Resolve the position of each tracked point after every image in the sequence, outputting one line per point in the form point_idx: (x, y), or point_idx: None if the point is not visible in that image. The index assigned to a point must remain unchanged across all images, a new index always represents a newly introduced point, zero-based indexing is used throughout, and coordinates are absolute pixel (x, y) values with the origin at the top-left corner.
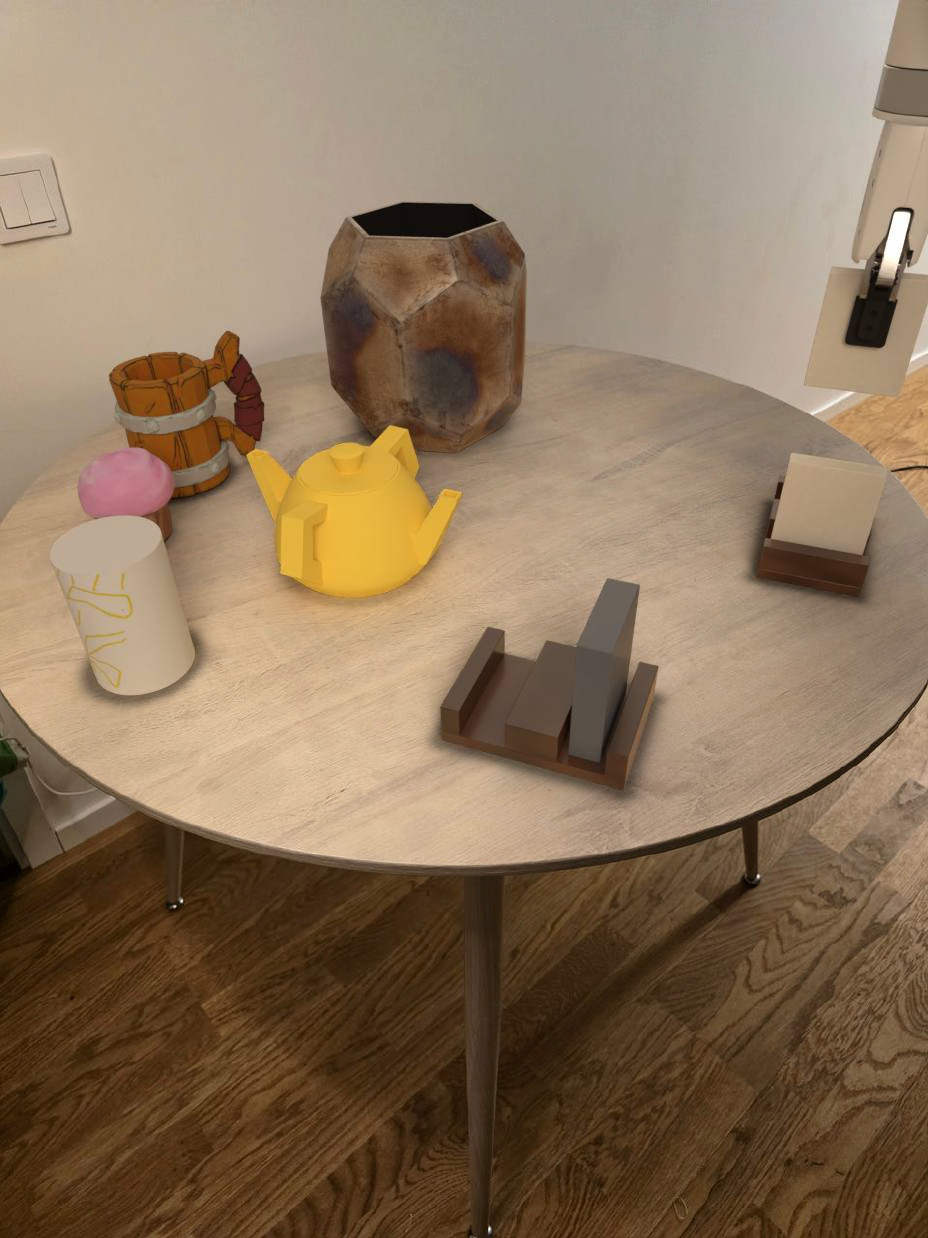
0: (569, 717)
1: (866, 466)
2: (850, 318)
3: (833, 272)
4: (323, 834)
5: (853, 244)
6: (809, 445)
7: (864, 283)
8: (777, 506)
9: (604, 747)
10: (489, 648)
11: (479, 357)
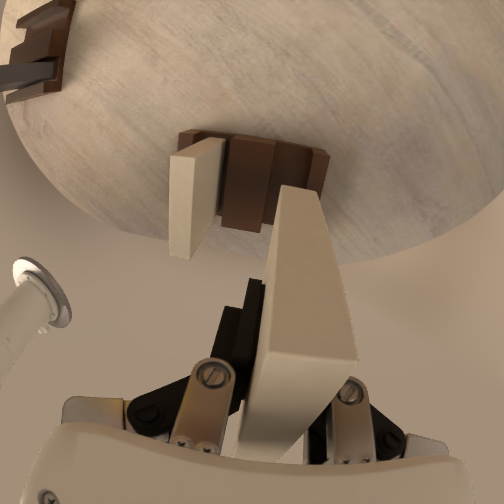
0: None
1: (183, 240)
2: (251, 312)
3: (268, 360)
4: (5, 21)
5: (199, 489)
6: (435, 205)
7: (185, 395)
8: (257, 146)
9: (21, 87)
10: (45, 9)
11: None
